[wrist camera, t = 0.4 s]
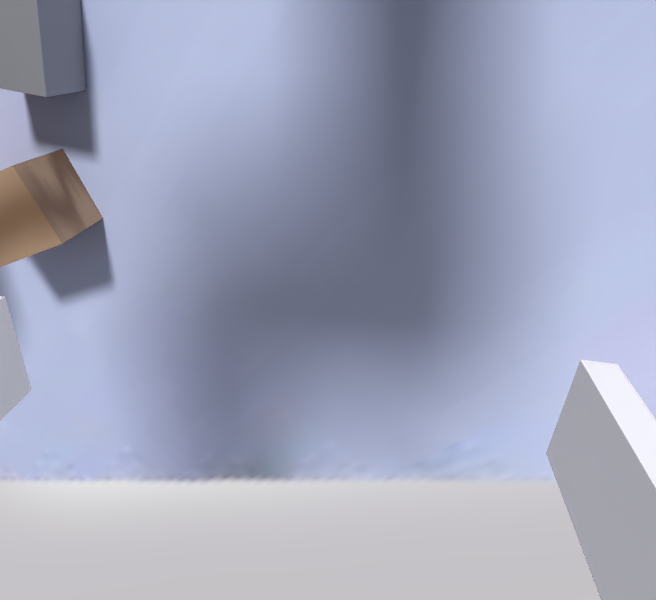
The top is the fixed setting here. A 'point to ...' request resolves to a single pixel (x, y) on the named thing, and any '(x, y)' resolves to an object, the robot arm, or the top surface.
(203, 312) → the top surface
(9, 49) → the gray block
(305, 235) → the top surface
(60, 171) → the walnut cube
